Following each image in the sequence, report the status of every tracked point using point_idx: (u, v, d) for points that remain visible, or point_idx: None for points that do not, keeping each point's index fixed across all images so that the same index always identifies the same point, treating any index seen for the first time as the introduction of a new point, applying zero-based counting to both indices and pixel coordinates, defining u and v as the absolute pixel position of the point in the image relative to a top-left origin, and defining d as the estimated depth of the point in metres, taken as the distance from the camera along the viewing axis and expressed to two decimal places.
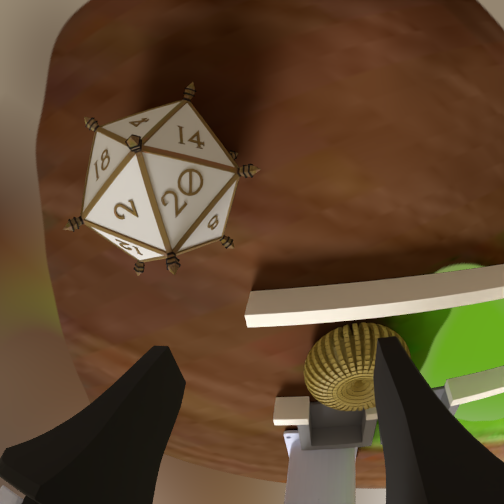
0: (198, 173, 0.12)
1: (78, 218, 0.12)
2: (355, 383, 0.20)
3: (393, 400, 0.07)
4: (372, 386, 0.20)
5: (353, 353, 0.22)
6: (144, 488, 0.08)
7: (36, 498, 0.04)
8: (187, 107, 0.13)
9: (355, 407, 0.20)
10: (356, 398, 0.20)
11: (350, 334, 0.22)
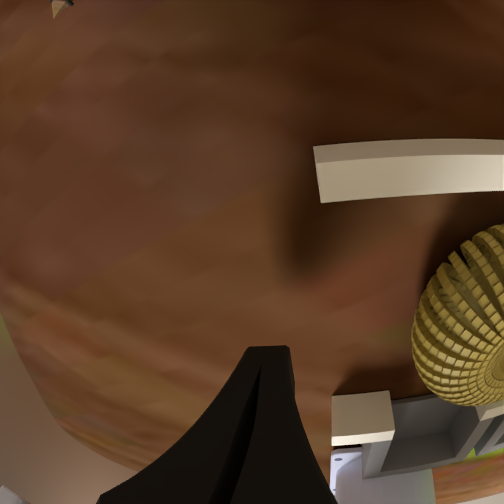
0: None
1: None
2: None
3: None
4: None
5: (490, 293, 0.10)
6: None
7: None
8: None
9: (498, 395, 0.08)
10: None
11: (487, 254, 0.10)
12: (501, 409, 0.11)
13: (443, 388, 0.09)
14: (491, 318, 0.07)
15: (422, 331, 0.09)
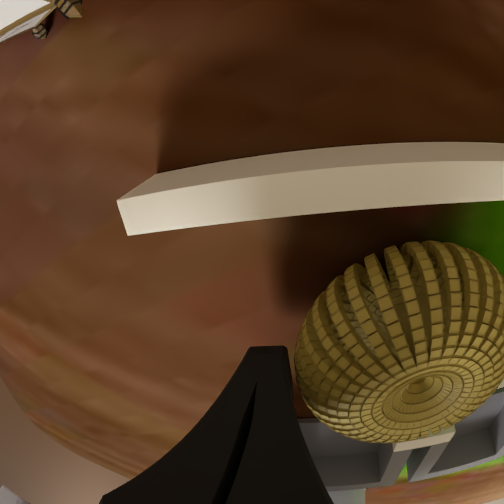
0: None
1: None
2: (410, 385, 0.08)
3: None
4: (448, 390, 0.08)
5: (400, 320, 0.10)
6: None
7: None
8: None
9: (404, 436, 0.08)
10: (410, 418, 0.08)
11: (395, 277, 0.10)
12: (418, 442, 0.11)
13: (327, 423, 0.09)
14: (360, 361, 0.07)
15: (298, 361, 0.10)
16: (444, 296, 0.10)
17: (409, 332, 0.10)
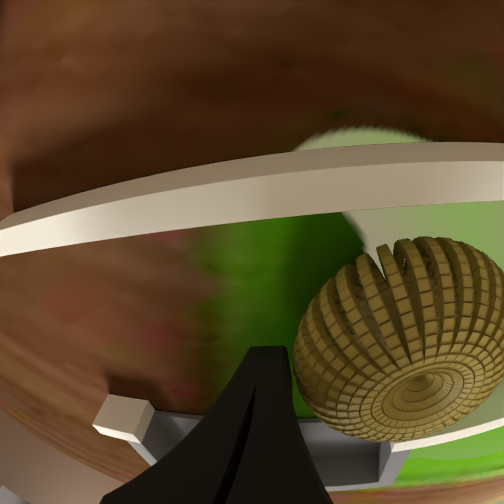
0: None
1: None
2: (410, 383, 0.08)
3: None
4: (449, 386, 0.08)
5: (399, 318, 0.10)
6: None
7: None
8: None
9: (408, 434, 0.08)
10: (412, 416, 0.08)
11: None
12: None
13: (329, 424, 0.09)
14: (354, 361, 0.07)
15: (297, 364, 0.10)
16: None
17: None
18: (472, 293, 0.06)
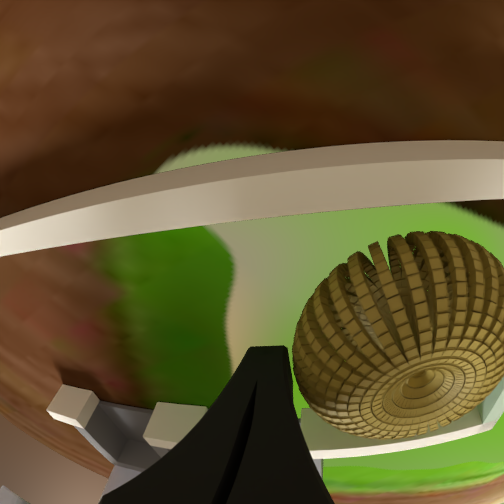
0: None
1: None
2: (411, 380, 0.08)
3: None
4: (450, 381, 0.07)
5: None
6: None
7: None
8: None
9: (412, 431, 0.08)
10: (415, 413, 0.08)
11: None
12: (164, 443, 0.14)
13: (332, 424, 0.09)
14: (348, 361, 0.07)
15: None
16: None
17: None
18: (466, 287, 0.06)
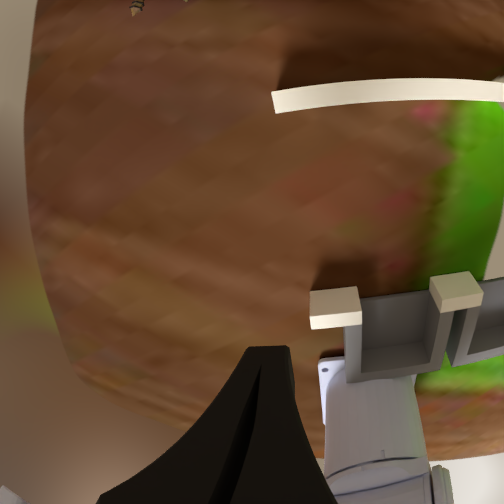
0: None
1: None
2: None
3: None
4: None
5: None
6: None
7: None
8: None
9: None
10: None
11: None
12: (458, 302, 0.16)
13: None
14: None
15: None
16: None
17: None
18: None
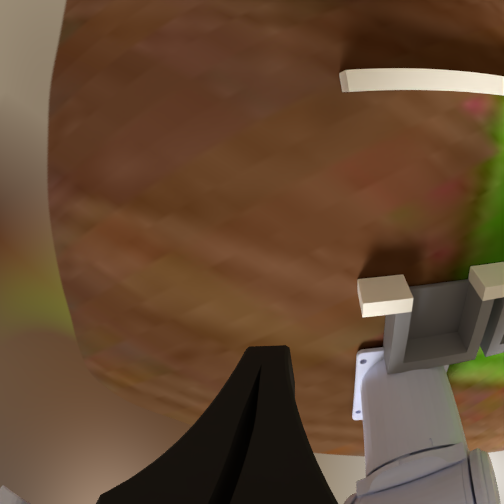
0: None
1: None
2: None
3: None
4: None
5: None
6: None
7: None
8: None
9: None
10: None
11: None
12: (498, 290, 0.15)
13: None
14: None
15: None
16: None
17: None
18: None
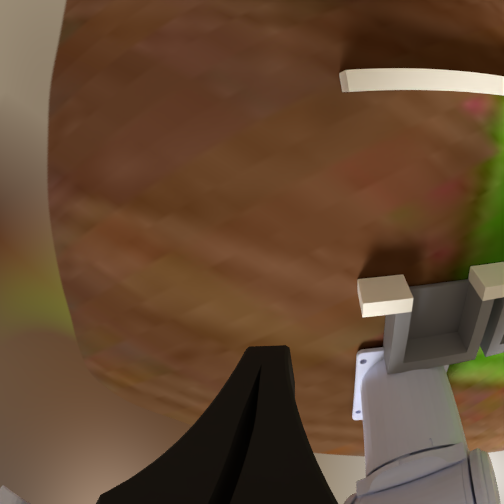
0: None
1: None
2: None
3: None
4: None
5: None
6: None
7: None
8: None
9: None
10: None
11: None
12: (498, 290, 0.15)
13: None
14: None
15: None
16: None
17: None
18: None
